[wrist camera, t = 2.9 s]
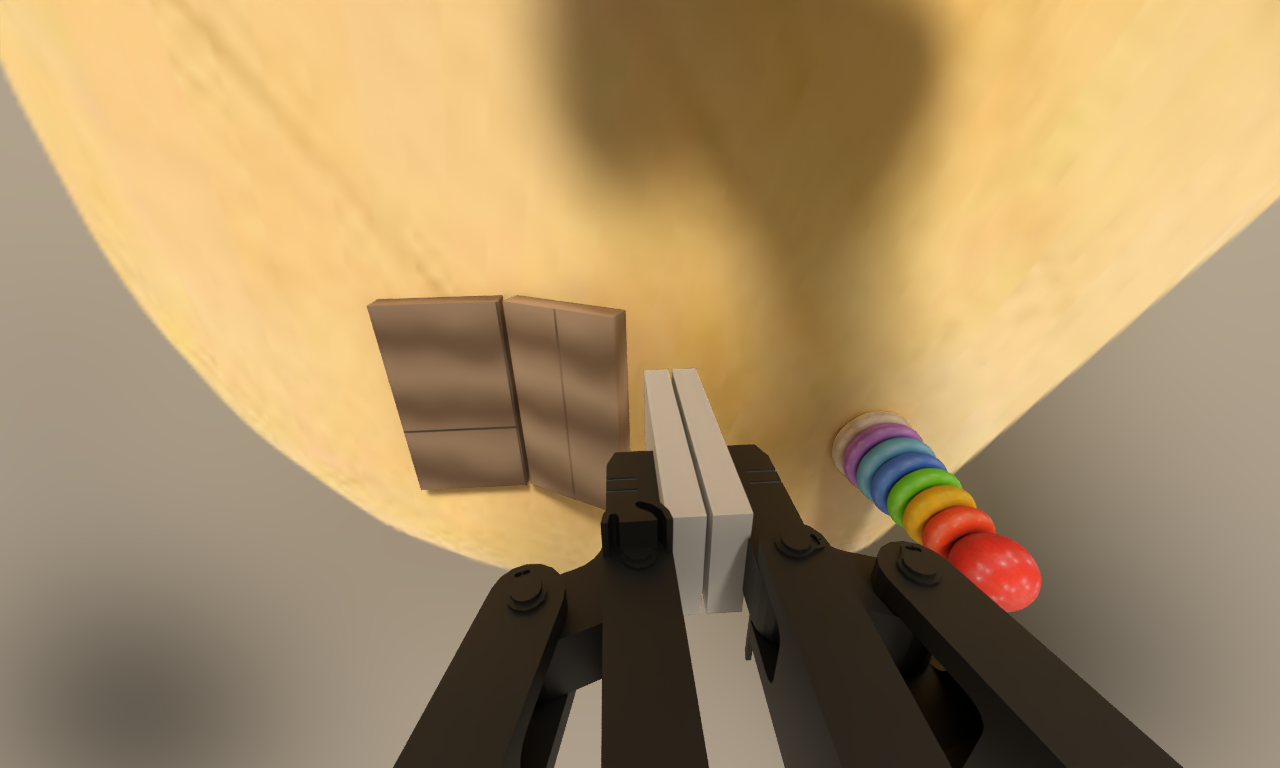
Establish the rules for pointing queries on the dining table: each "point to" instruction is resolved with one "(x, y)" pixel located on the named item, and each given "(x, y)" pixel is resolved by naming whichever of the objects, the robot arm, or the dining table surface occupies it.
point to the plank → (570, 391)
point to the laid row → (453, 389)
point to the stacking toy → (933, 506)
